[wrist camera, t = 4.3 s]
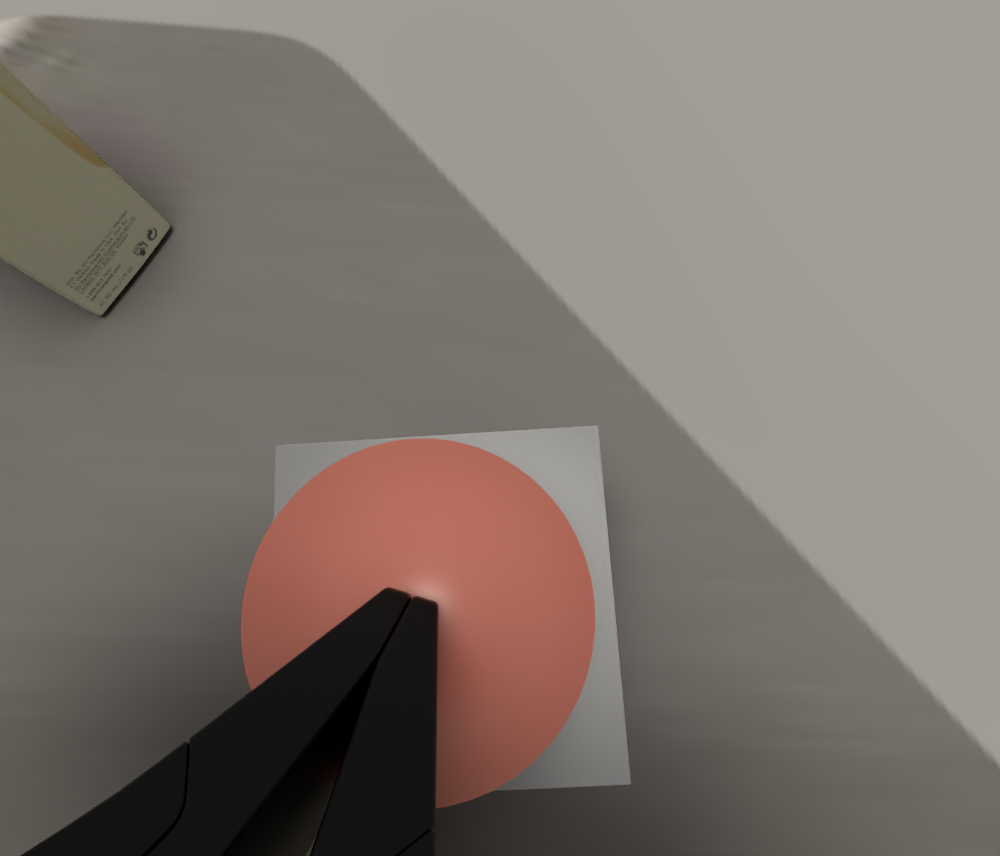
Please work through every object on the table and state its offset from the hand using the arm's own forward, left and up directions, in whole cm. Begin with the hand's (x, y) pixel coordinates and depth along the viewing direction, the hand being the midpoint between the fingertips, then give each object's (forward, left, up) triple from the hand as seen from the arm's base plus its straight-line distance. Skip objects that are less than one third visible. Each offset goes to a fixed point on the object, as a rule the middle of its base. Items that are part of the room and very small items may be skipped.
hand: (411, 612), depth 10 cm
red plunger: (0, 0, -8) cm, 8 cm away
